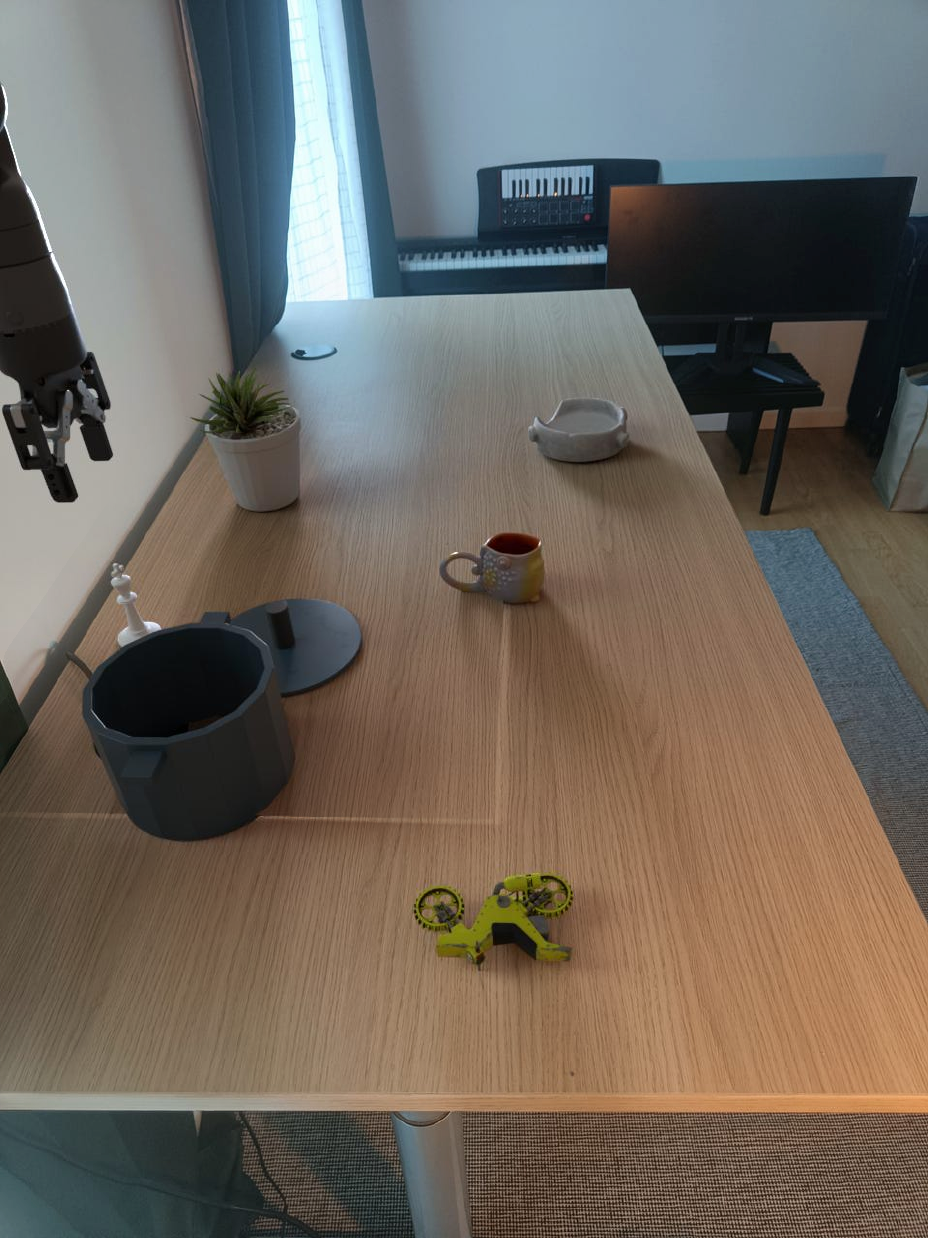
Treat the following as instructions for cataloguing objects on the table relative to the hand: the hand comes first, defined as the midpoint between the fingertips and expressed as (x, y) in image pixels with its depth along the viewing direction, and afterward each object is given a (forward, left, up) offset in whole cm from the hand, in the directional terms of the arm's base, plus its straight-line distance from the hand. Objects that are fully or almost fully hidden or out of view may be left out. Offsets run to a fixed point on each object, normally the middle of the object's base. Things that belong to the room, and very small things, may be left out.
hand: (85, 479), depth 85 cm
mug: (+39, +9, -20) cm, 45 cm away
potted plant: (+6, +32, -20) cm, 38 cm away
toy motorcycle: (+41, -36, -20) cm, 58 cm away
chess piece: (0, 0, -20) cm, 20 cm away
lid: (+17, -2, -19) cm, 26 cm away
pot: (+14, -20, -20) cm, 32 cm away
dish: (+51, +47, -20) cm, 72 cm away
